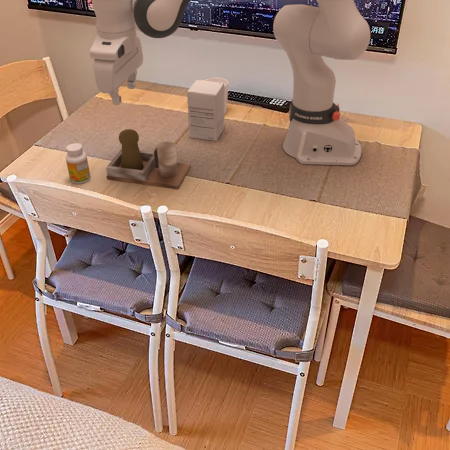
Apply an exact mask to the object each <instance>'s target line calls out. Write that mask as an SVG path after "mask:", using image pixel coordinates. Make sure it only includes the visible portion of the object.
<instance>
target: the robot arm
mask: <svg viewBox="0 0 450 450" xmlns="http://www.w3.org/2000/svg"><path fill="white" fill-rule="evenodd" d="M91 1H92V2H91V3H92V8H93V11H94V14H95V17H96V24H95V29H96V35H95V37H94V40H93V43H92V46H91V47H90V49H89V56H90V58H91V59H94V60H93V73H94V79H95V80H94V81H95V84H96V87H97V90H98V91H99V92H100V93H102V94H107V95H109V96H110V98H111V102H112V105H113V106H119V105H120V104H121V103H122V95H119V88H120V87H122V85H124V83H125V82H126V87H127V88H128V89H129V90H134V89H135V88H136V87H137V74H138V69H139V68H140V67H141V66H142V65H143V63H144V54H143V47H142V42H141V39H140V38H139V36H138V35H137V28H138V30H140V32H141V33H142V34H144V35H145V36H148V37H150V38H153V39H164V38H165V39H166V38H167V37H169V36H171V35H173V34H174V33H175V32H176V31H177V30H178V28H179V26H180V25H181V22H182V20H183V18H184V14H185V11H186V9H187V6H188V5H189V3H190V1H191V0H91ZM316 2H317V4H318V6H312V5H307V4H285V5H284V6H283V7H282V8H280V9H279V11H278V12H277V13H276V15H275V17H274V20H273V25H272V26H273V27H272V29H273V35H274V37H275V39H276V41H277V42H278V43H279V44H280V46H281V47H282V48H283V50H284V51H285V53H286V55H287V57H288V59H289V62H290V65H291V70H292V75H293V76H292V77H293V83H292V84H293V85H292V87H293V89H292V99H291V102H290V104H289V112H288V113H289V114H288V118H289V125H288V129H287V134H286V136H285V139H284V142H283V144H282V148H283V151H284V152H285V153H286V154H287V155H288V156H291V157H292V158H294V159H296V160H297V161H298V162H299V163H300V164H301V165H322V166H324V165H327V166H328V165H329V166H330V165H331V166H354V165H356V164H357V163H359V161H360V160H361V157H362V145H361V143H360V142H359V141H358V140H357V139H356V136H355V132H354V129H353V127H352V126H351V125H350V124H348V123H347V122H346V121H345V120H343V118H342V117H341V113H340V110H341V108H340V104H339V103H337V104H336V103H335V102H334V98H335V89H336V82H337V79H336V76H335V73H334V71H333V70H332V68H331V67H329V66H328V65H327V63H326V62H325V60H324V59H323V57H326V58H330V59H334V60H341V61H342V60H343V61H344V60H345V61H346V60H347V61H348V60H349V61H351V60H353V61H355V60H357V59H358V58H360V57H361V56H362V55H363V54H364V53H365V52H366V50H367V49H368V47H369V45H370V41H371V29H370V25H369V24H368V22H367V20H366V19H365V18H364V17H363V16H362V14H361V13H360V11H359V10H358V8H357V6H356V3H355V1H354V0H316ZM136 26H137V28H136Z"/></svg>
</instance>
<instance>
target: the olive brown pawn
mask: <svg viewBox="0 0 450 450" xmlns="http://www.w3.org/2000/svg"><path fill="white" fill-rule="evenodd" d="M139 140H140V135H139V133H138V131H136V130H134V129H132V128H128V129H124V130H122V131H120V133H119V134H118V141H119V143H120V144H121V149H122V165H121V168H128V169H135V170H143V168H144V166H143V162H142V158H141V154H140V151H141V150H140V147H139V144H138V143H139ZM139 150H140V151H139Z"/></svg>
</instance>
